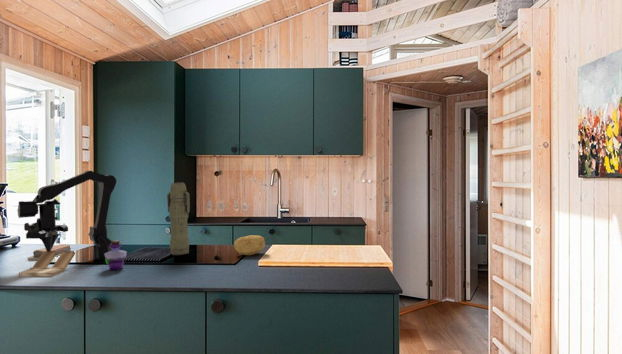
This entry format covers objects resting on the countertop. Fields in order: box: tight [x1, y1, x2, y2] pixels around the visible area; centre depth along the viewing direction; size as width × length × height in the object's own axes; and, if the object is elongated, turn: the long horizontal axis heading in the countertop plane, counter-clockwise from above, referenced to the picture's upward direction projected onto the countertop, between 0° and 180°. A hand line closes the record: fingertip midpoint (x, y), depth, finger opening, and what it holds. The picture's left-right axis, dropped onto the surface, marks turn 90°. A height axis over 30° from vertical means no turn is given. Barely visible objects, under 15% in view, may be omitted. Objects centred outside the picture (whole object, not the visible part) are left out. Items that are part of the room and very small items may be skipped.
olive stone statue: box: [166, 181, 191, 256], centre depth 203 cm, size 9×12×35 cm
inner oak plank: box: [51, 250, 76, 271], centre depth 175 cm, size 5×9×1 cm
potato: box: [233, 234, 266, 256], centre depth 198 cm, size 10×14×10 cm
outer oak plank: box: [31, 251, 57, 268], centre depth 176 cm, size 5×9×1 cm
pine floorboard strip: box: [18, 267, 65, 277], centre depth 168 cm, size 14×7×2 cm, turn 87°
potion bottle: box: [104, 240, 128, 271], centre depth 174 cm, size 9×9×12 cm
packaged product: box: [27, 243, 72, 261], centre depth 201 cm, size 18×5×10 cm
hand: (48, 251), depth 178 cm, fingers closed
